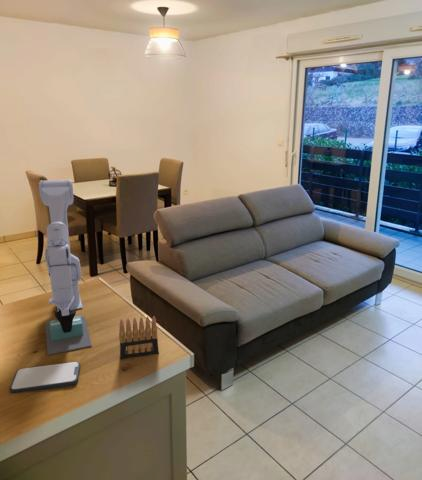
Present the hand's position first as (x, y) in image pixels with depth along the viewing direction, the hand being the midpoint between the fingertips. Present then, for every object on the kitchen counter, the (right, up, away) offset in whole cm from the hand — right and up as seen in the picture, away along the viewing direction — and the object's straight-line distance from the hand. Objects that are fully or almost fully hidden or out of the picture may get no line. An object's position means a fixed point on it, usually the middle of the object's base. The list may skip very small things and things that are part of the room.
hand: (66, 325), depth 117 cm
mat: (0, -3, +1) cm, 3 cm away
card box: (0, -3, +1) cm, 3 cm away
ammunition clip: (+24, -7, -8) cm, 26 cm away
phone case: (+2, -10, -18) cm, 20 cm away
